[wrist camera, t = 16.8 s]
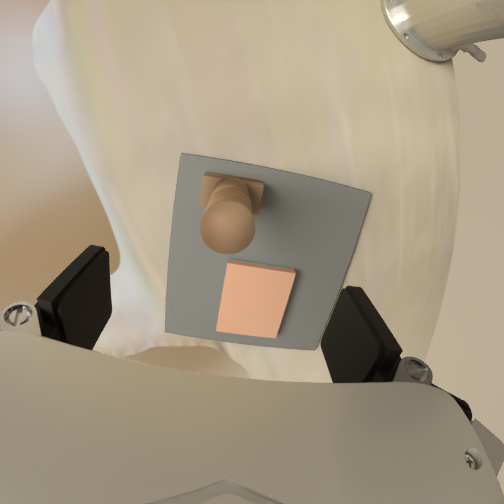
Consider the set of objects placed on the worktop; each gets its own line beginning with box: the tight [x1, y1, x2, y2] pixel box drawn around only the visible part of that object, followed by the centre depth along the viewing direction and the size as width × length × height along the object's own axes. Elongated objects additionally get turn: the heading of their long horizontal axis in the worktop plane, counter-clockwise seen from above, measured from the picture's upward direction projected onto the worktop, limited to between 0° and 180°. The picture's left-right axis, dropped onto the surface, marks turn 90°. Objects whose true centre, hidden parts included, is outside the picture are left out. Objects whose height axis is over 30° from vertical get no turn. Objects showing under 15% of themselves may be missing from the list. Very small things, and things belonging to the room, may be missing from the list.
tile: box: [216, 257, 296, 338], centre depth 36 cm, size 8×2×10 cm
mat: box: [165, 153, 371, 350], centre depth 35 cm, size 22×24×1 cm
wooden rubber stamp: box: [199, 171, 264, 254], centre depth 25 cm, size 6×4×13 cm, turn 79°
